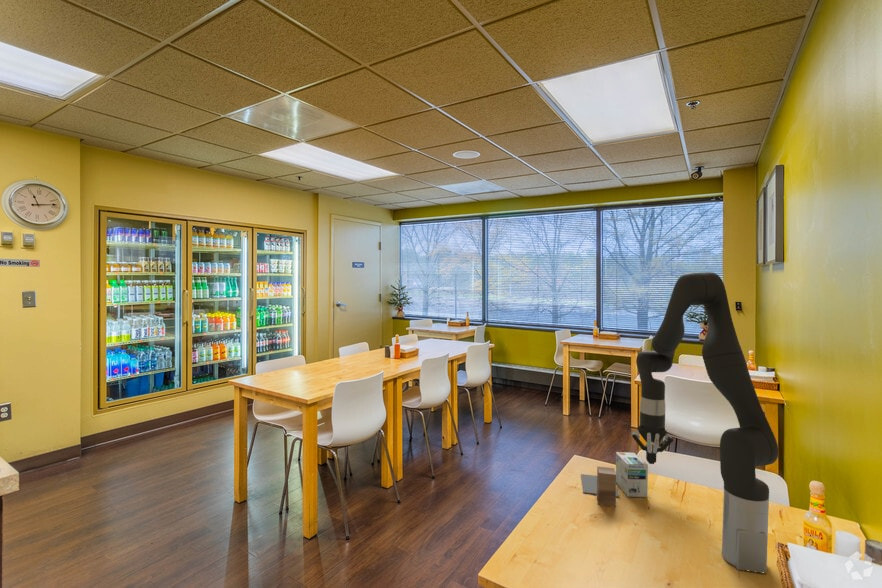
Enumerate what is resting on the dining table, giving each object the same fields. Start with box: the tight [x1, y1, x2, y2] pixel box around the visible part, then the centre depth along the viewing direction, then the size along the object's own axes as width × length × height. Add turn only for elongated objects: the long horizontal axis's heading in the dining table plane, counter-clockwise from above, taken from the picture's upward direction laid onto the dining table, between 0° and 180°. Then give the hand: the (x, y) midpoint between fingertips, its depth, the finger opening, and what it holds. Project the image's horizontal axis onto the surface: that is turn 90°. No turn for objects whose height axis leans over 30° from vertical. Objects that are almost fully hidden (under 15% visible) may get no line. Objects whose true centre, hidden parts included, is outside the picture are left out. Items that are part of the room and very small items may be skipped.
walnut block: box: [596, 466, 617, 507], centre depth 138 cm, size 5×5×10 cm
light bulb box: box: [615, 451, 649, 498], centre depth 146 cm, size 11×7×11 cm, turn 179°
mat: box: [580, 473, 620, 498], centre depth 149 cm, size 14×11×1 cm
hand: (651, 463), depth 145 cm, fingers closed
